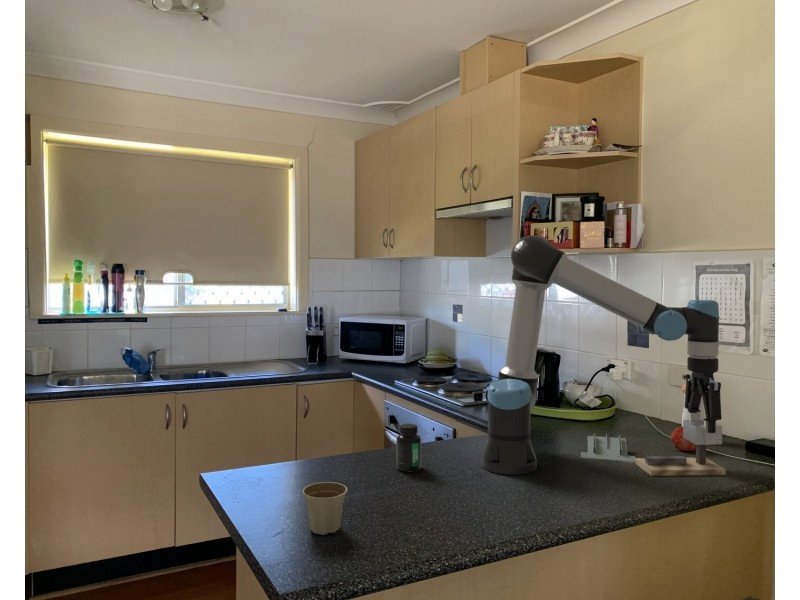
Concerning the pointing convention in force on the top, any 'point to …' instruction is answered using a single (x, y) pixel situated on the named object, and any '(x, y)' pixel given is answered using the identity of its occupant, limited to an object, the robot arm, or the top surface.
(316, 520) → the flower pot
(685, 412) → the pepper shaker
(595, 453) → the metal bracket
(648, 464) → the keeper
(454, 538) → the top surface
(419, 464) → the supplement bottle
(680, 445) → the pomegranate
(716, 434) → the grey square socket block
